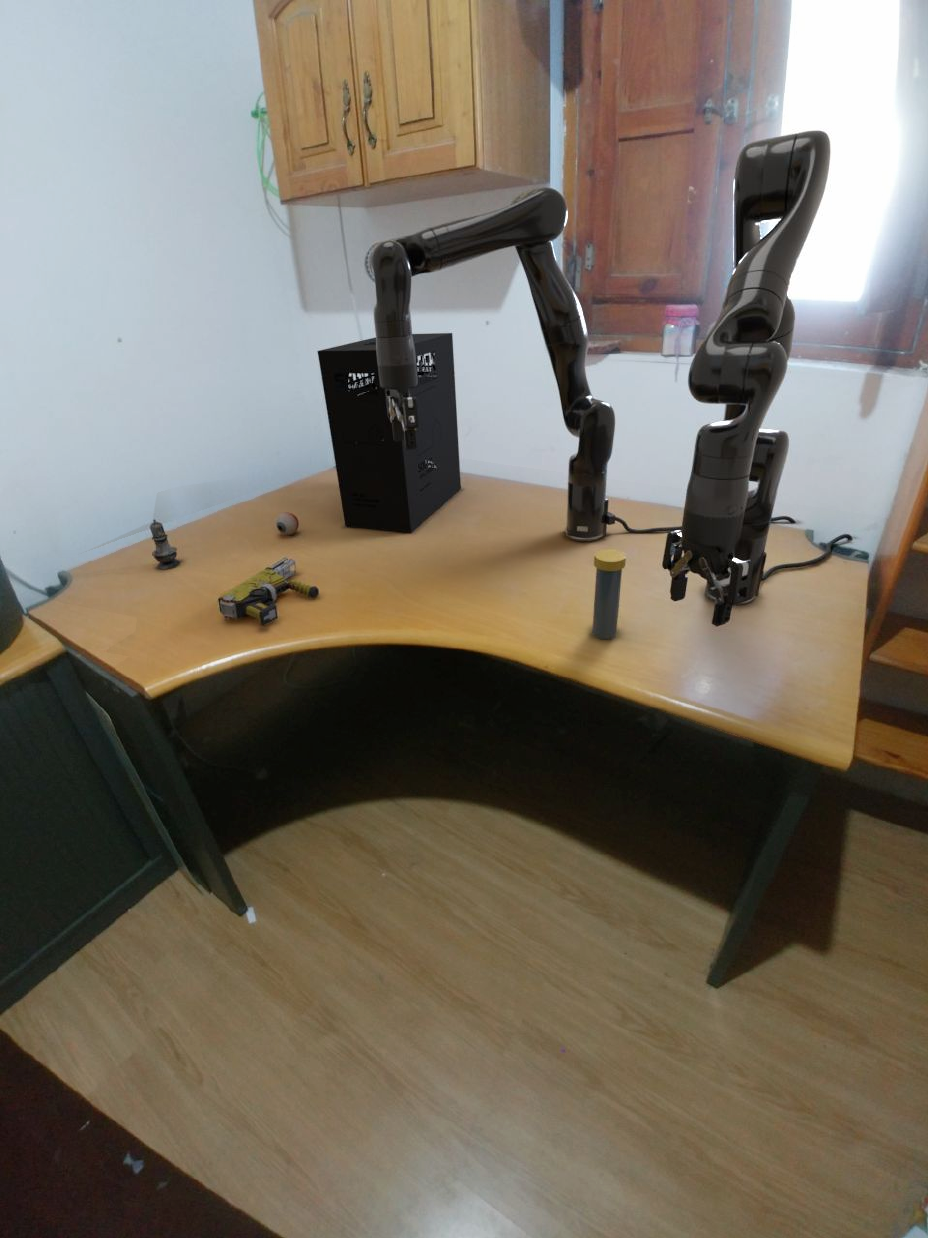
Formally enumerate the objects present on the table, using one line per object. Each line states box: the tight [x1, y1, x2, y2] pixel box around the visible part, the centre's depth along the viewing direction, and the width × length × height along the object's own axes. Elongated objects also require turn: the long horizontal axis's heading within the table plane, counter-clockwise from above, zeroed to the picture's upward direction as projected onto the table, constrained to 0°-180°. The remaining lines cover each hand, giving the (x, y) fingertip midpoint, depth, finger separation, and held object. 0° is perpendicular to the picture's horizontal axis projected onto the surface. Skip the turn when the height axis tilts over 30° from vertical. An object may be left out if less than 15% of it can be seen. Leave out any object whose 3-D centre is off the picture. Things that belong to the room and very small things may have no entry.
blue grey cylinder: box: [591, 567, 623, 640], centre depth 109 cm, size 4×4×16 cm
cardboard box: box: [317, 332, 462, 534], centre depth 168 cm, size 38×20×45 cm, turn 159°
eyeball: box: [275, 511, 300, 536], centre depth 163 cm, size 6×6×6 cm
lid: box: [593, 548, 627, 571], centre depth 106 cm, size 5×5×2 cm
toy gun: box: [217, 557, 320, 627], centre depth 130 cm, size 5×24×15 cm
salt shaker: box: [149, 519, 181, 570], centre depth 148 cm, size 6×6×12 cm
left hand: (404, 444), depth 126 cm, fingers open, 8 cm apart
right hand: (697, 611), depth 88 cm, fingers open, 8 cm apart
